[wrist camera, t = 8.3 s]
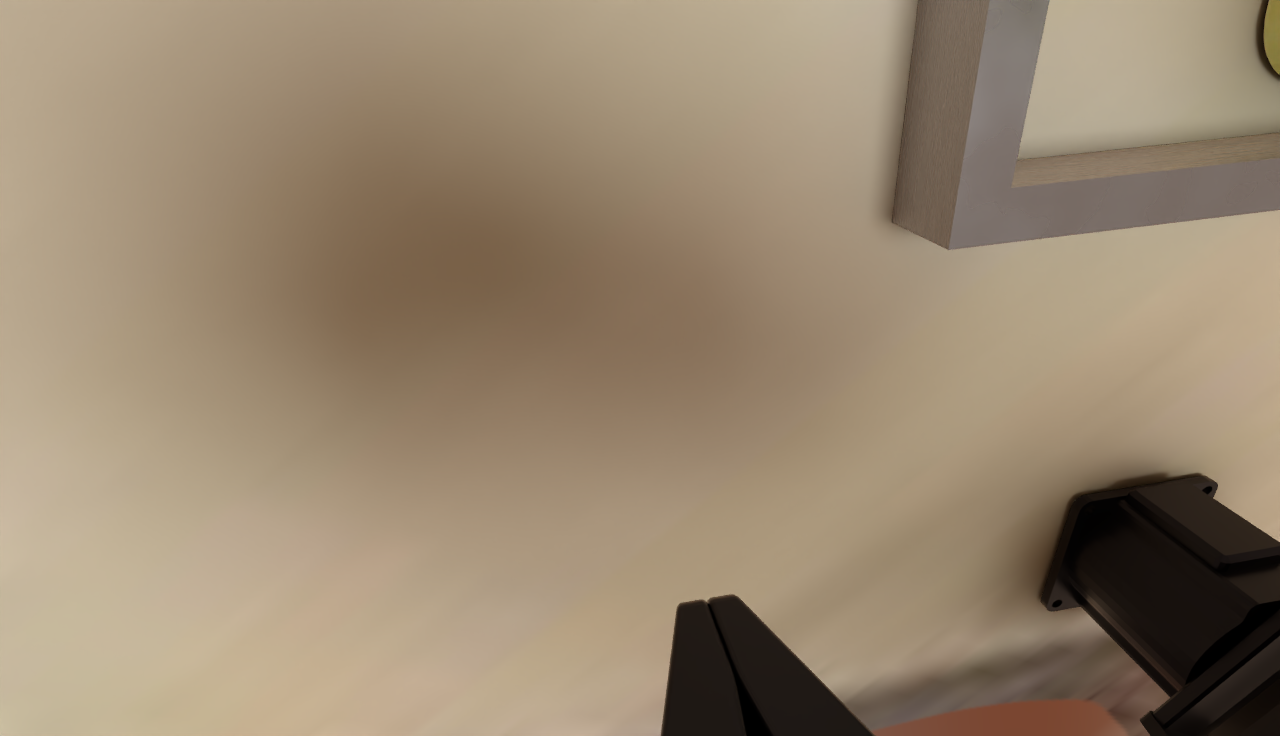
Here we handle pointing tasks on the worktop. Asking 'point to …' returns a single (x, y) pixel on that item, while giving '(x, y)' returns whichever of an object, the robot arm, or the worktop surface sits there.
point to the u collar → (1050, 186)
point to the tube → (1272, 34)
